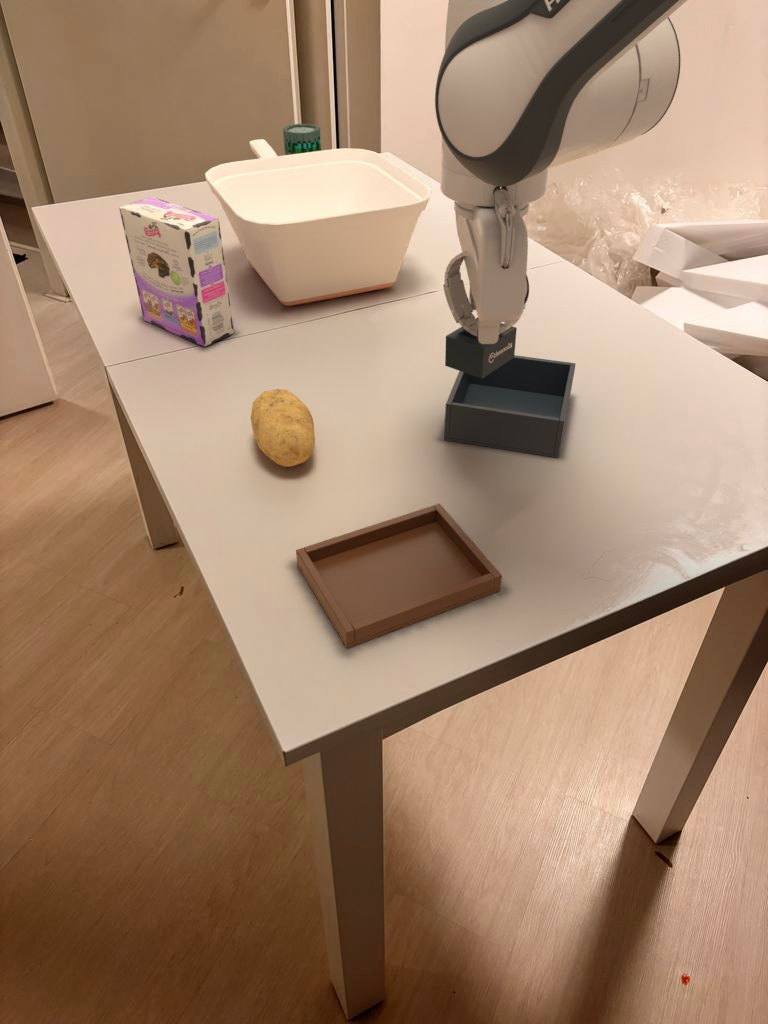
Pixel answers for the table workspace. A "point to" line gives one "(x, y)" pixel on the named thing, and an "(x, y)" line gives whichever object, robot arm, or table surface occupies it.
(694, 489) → the table surface
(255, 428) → the potato
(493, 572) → the tray
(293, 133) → the can
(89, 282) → the table surface
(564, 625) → the table surface
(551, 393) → the bin
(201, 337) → the candy box
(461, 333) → the watch
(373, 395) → the table surface
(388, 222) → the pot
